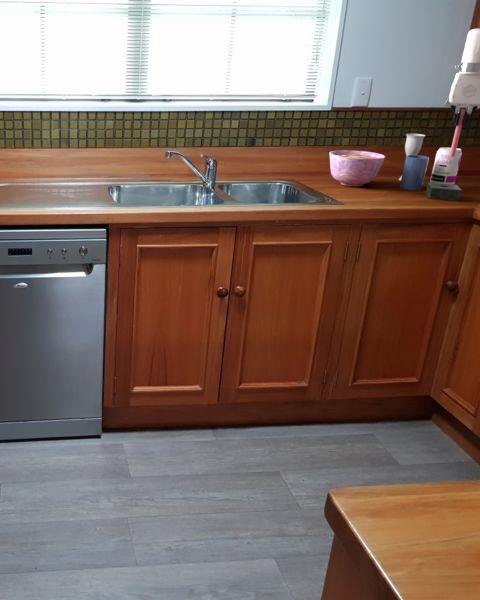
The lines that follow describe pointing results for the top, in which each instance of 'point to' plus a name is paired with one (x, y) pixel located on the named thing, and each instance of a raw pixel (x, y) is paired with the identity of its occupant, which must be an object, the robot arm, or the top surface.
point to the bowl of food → (355, 166)
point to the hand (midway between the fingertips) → (459, 125)
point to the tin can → (414, 172)
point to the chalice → (413, 144)
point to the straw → (457, 133)
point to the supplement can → (445, 166)
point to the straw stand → (443, 192)
